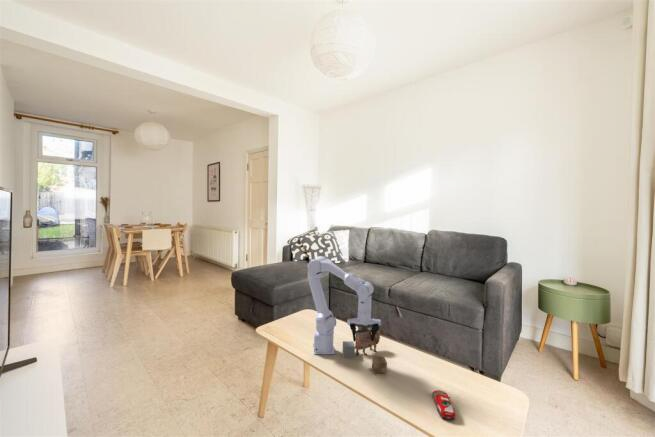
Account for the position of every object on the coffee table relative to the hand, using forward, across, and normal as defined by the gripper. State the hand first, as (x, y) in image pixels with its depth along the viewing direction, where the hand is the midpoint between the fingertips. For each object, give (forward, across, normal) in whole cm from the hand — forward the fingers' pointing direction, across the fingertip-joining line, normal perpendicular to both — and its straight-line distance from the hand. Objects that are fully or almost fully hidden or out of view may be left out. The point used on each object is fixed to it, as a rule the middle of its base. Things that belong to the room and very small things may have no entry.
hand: (363, 340), depth 126 cm
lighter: (+3, 0, 0) cm, 3 cm away
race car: (+10, +24, -28) cm, 38 cm away
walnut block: (+10, +6, -6) cm, 13 cm away
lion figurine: (+10, +4, +9) cm, 14 cm away
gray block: (+10, -6, +6) cm, 13 cm away
